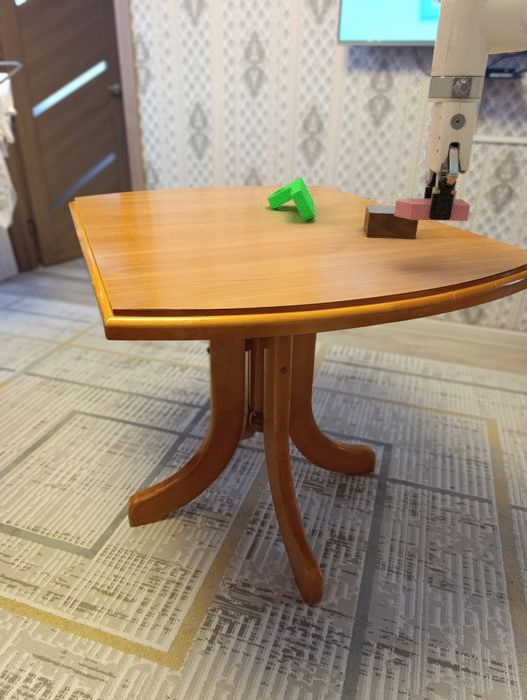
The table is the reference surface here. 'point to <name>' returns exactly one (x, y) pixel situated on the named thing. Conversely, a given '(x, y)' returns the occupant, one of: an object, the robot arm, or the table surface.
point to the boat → (421, 209)
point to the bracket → (294, 198)
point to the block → (388, 223)
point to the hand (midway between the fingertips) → (435, 214)
